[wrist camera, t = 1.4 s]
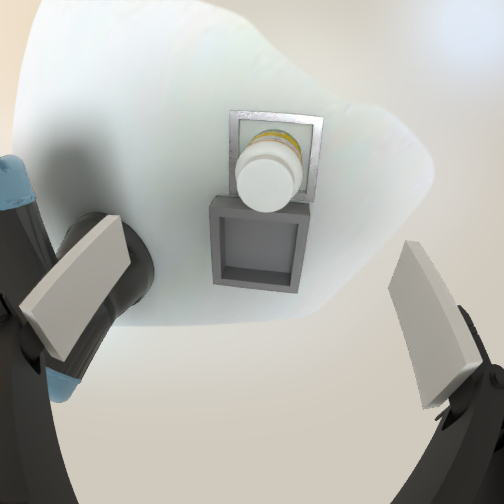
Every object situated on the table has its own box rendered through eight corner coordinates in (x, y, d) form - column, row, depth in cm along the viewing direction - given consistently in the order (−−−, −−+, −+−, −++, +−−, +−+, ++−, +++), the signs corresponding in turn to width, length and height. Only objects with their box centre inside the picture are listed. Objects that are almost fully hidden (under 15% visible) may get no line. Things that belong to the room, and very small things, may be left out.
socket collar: (230, 191, 29) (229, 194, 29) (231, 110, 24) (229, 111, 24) (313, 199, 29) (313, 202, 28) (322, 117, 24) (323, 117, 23)
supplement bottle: (272, 118, 24) (263, 131, 17) (312, 155, 26) (321, 187, 18) (237, 155, 27) (211, 187, 19) (275, 189, 29) (267, 234, 21)
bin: (219, 269, 35) (213, 284, 33) (216, 195, 30) (209, 206, 27) (297, 277, 34) (297, 293, 32) (308, 203, 29) (310, 216, 26)
